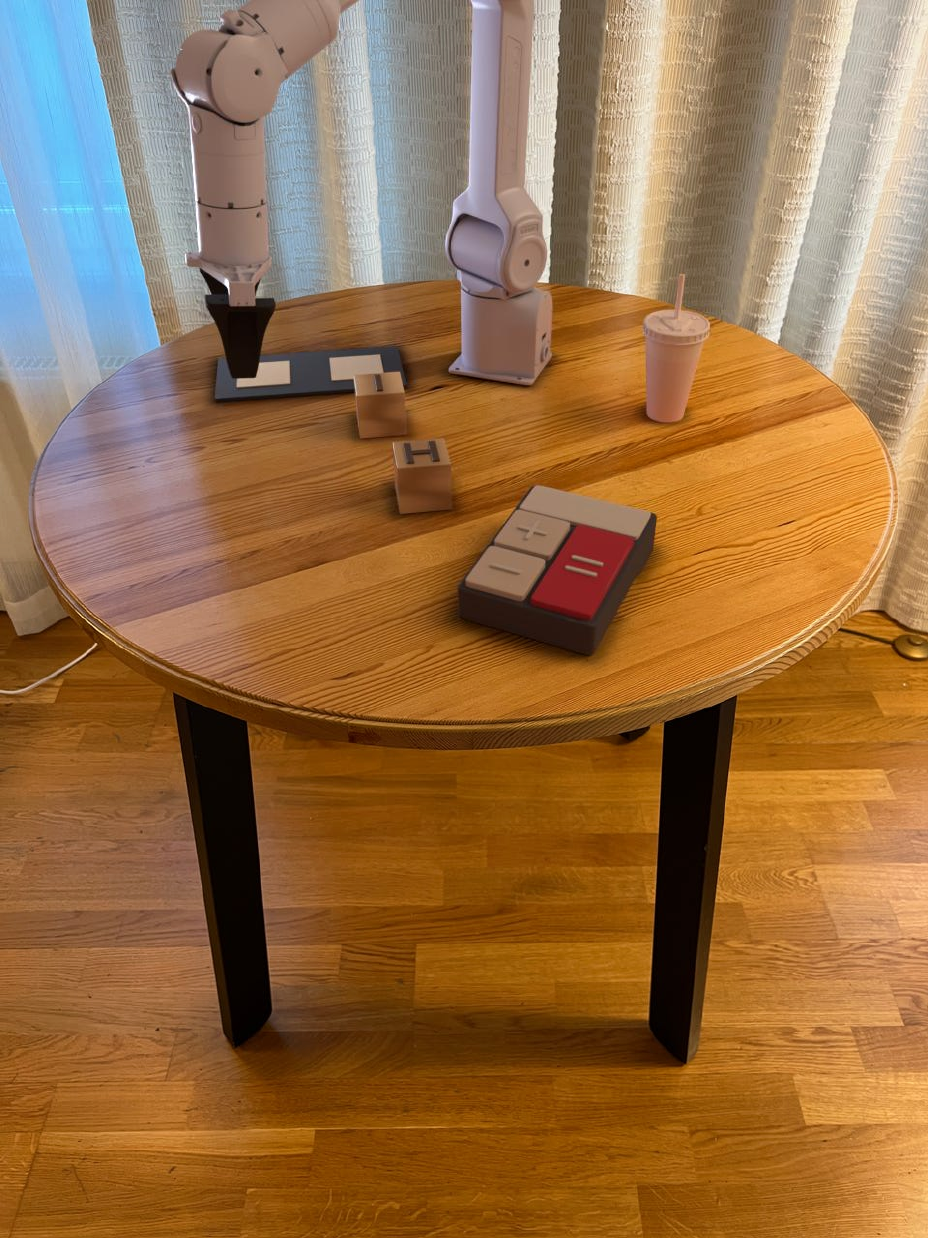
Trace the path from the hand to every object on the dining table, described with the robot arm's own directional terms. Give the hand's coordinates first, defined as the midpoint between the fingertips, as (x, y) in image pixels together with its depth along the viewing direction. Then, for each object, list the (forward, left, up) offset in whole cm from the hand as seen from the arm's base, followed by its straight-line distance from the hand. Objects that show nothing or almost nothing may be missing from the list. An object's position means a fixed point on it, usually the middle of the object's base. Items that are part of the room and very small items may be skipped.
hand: (240, 360), depth 91 cm
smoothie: (-35, -21, -10) cm, 42 cm away
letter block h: (-18, +2, -10) cm, 20 cm away
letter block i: (-9, -9, -10) cm, 16 cm away
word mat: (+3, -17, -10) cm, 20 cm away
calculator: (-33, +10, -10) cm, 36 cm away
